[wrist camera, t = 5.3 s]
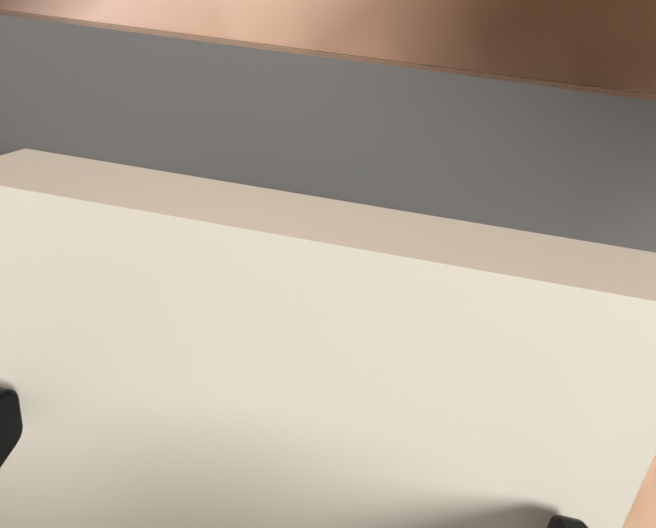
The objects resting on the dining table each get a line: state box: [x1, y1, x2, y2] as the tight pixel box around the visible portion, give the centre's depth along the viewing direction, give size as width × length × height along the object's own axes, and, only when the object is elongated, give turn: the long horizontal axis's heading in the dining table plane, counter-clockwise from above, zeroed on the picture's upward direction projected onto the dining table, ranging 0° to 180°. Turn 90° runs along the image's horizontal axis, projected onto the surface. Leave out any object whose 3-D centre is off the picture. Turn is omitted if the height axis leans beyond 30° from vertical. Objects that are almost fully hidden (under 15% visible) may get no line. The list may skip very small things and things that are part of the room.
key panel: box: [0, 10, 656, 253], centre depth 16 cm, size 12×30×2 cm, turn 84°
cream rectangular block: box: [0, 149, 656, 528], centre depth 11 cm, size 8×11×4 cm
